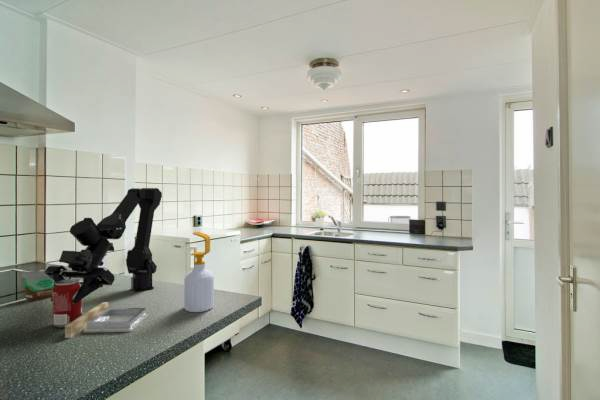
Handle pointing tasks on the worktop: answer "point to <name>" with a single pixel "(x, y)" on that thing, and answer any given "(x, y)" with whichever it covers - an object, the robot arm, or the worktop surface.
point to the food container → (37, 284)
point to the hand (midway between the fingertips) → (62, 302)
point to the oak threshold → (84, 320)
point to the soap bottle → (199, 283)
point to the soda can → (65, 302)
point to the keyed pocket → (117, 320)
